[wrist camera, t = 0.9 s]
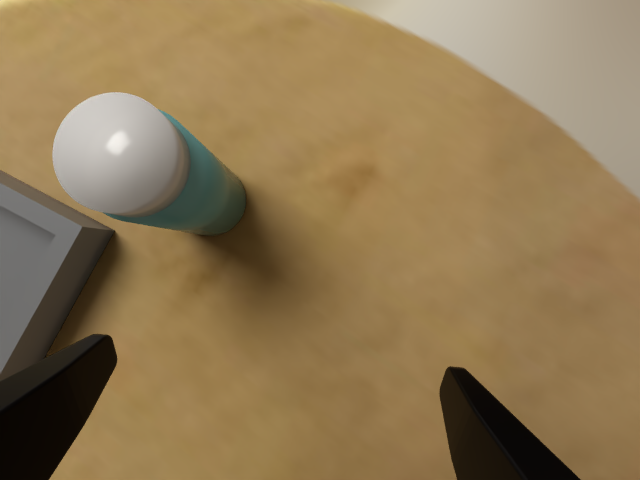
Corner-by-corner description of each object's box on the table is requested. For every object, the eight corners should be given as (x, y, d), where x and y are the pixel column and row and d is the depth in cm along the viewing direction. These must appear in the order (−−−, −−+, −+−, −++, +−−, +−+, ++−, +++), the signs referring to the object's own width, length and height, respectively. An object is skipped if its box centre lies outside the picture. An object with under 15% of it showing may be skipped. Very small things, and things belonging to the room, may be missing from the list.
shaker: (225, 248, 22) (138, 241, 12) (162, 215, 22) (23, 180, 12) (258, 185, 22) (203, 124, 12) (196, 153, 23) (88, 65, 12)
